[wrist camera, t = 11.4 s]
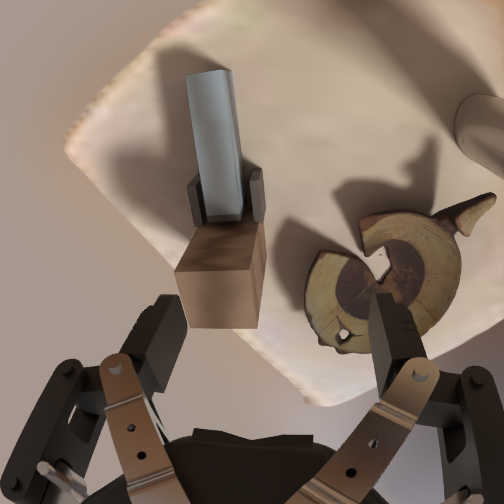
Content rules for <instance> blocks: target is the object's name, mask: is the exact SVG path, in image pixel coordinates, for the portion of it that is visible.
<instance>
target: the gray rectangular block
mask: <svg viewBox="0 0 504 504" xmlns="http://www.w3.org/2000/svg"><path fill="white" fill-rule="evenodd" d="M185 78H186V86H187V93H188V100H189V107H190V114H191V121H192V128H193V134H194V141H195V147H196V154H197V160H198V166H199V172H200V178H201V184H202V190H203V196H204V202H205V208H206V214H207V219H208V222H224V221H240V220H241V217H242V214H243V211H244V208H245V205H246V202H247V196H246V187H245V179H244V170H243V162H242V153H241V145H240V137H239V128H238V120H237V111H236V103H235V94H234V86H233V77H232V71H227V70H215V71H208V72H202V73H196V74H191V75H185Z"/></svg>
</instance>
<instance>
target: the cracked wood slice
mask: <svg viewBox="0 0 504 504" xmlns="http://www.w3.org/2000/svg"><path fill="white" fill-rule="evenodd" d="M496 198H497V197H496V195H495V194H494V193H492V192H489V193H485V194H482V195H479V196H477V197H475V198H472V199H470V200H467V201H464V202H461V203H458V204H456V205H453V206H451V207H448V208H445V209H443V210H440V211H438V212H437V213H435V214H434V215H433V216H428V215H425V214H423V213H420V212H417V211H413V210H404V209H397V210H387V211H382V212H377V213H374V214H371V215H369V216H367V217H364V218H362V219H361V220H360V221H359V229H360V234H361V235H360V236H361V241H362V244H363V245H362V248H363V253H364V256H365V257H369V256H371V255H372V254H373V253H374V252H375V251H377V250H378V249H379V248H381V247H382V246H386V247H387V251H388V256H389V260H390V261H391V264H392V268H391V270H390V271H389V272H388V273H387V275H386V276H385V278H384V279H383V281H382V282H381V283H380V284H378V283H377V281H376V280H375V278H374V275H373V274H372V272H371V271H370V269H369V267H368V266H367V265H366V264H365V263H364V262H363V261H362V260H361V259H358V258H356V257H354V256H349V255H347V254H344V253H339V252H333V251H328V250H320V251H319V253H318V254H317V256H316V258H315V259H314V261H313V263H312V265H311V267H310V270H309V273H308V276H307V279H306V285H305V291H304V307H305V313H306V316H307V319H308V321H309V323H310V326H311V328H312V329H313V330H314V331H315V333H316V334H317V336H318V342H319V345H321V346H330V347H334V348H335V349H336V352H337V353H339V354H349V353H359V354H370V353H372V352H371V347H370V341H369V336H368V319H369V313H370V306H371V299H372V294H373V293H374V292H391V293H392V295H393V298H394V301H395V304H404V305H405V306H406V307H407V308H408V309H409V310H410V311H411V312H412V315H413V318H414V321H415V323H416V326H417V331H418V332H419V334H420V337H422V336H423V335H424V334H426V333H427V332H428V331H429V329H430V328H431V327H433V326H434V325H436V323H437V322H438V321H439V320H440V319H441V318H442V317H443V315H444V314H445V312H446V311H447V310H448V308H449V306H450V305H451V303H452V301H453V299H454V297H455V295H456V291H457V289H458V286H459V281H460V275H461V256H460V251H459V248H458V246H457V243H456V241H455V238H454V235H455V233H456V232H457V231H459V232H460V233H461V234H462V235H464V236H466V237H468V236H470V234H471V231H472V229H473V228H474V225H475V224H476V222H477V221H478V220H479V218H480V217H481V216H482V215H484V213H485V212H486V211H487V210H489V209H490V208H491V207H492V206H493V205H494V204H495V201H496ZM380 255H381V254H379V256H380ZM342 329H345V330H347V331H348V332H349V335H348V336H347V337H346V338H345V339H341V336H340V335H339V333H340V331H341V330H342Z"/></svg>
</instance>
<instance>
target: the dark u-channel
mask: <svg viewBox="0 0 504 504" xmlns="http://www.w3.org/2000/svg"><path fill="white" fill-rule="evenodd" d="M187 189H188V195H189V200H190V205H191V210H192V215H193V220H194V225H195V227H198V229H197V231H196V232H195V234H194V236H193V238H192V240H191V241H190V243H189V245H188V247H187V249H186V251H185V252H184V254H183V256H182V258H181V260H180V262H179V263H178V265H177V267H176V269H175V271H174V274H175V278H176V282H177V285H178V289H179V292H180V296H181V299H182V303H183V306H184V309H185V313H186V316H187V319H188V322H189V326H190V328H215V329H219V328H220V329H257V326H258V319H259V311H260V304H261V296H262V289H263V281H264V273H265V266H266V258H267V253H266V243H265V233H264V223H263V221H264V216H265V210H266V203H265V193H264V183H263V173H262V169H254V170H253V173H252V175H251V178H250V190H251V198H252V207H253V208H247V209H244V211H243V214H242V217H241V220H240V221H224V222H208V219H207V214H206V208H205V202H204V196H203V190H202V184H201V178H200V174H198V175H196V177H195V178H194V179H193V180H192V181H191V182H190V183H189V185H188V186H187Z"/></svg>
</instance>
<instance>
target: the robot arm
mask: <svg viewBox="0 0 504 504" xmlns="http://www.w3.org/2000/svg"><path fill="white" fill-rule="evenodd" d="M455 135H456V139H457V142H458V145H459V147H460V148H461V150H462V152H463V153H464V154H465V155H466V156H467V157H468V158H470V159H471V160H473V161H475V162H476V163H478V164H480V165H481V166H483V167H484V168H486V169H488V170H489V171H491V172H492V173H494V174H495V175H497V176H499V177H500V178H502V179H503V180H504V99H502V98H498V97H493V96H488V95H483V94H475V95H473V96H470V97H468V98H467V99H466V100H465V101H464V102H463V103H462V104H461V105H460V107H459V109H458V111H457V115H456V118H455ZM186 334H187V321H186V318H185V314H184V311H183V308H182V304H181V301H180V298H179V296H178V295H171V294H167V295H166V294H161V295H160V296H159V297H158V299H157V301H156V302H155V304H154V306H149V307H147V309H145V310H144V311H143V312H142V313H141V314H140V316H139V318H138V319H137V323H135V325H134V326H133V330H131V332H130V333H129V335H128V337H127V339H126V341H125V342H124V344H123V346H122V348H121V350H120V351H119V353H115V354H112V355H110V356H108V357H106V358H105V359H104V360H103V361H102V363H101V364H100V366H93V367H83V365H82V364H81V362H80V361H79V360H77V359H68V360H65V361H63V362H62V363H60V364H59V365H58V366H57V368H56V369H55V371H54V372H53V374H52V376H51V378H50V380H49V381H48V383H47V385H46V387H45V389H44V390H43V392H42V394H41V396H40V398H39V399H38V401H37V403H36V405H35V407H34V409H33V411H32V413H31V415H30V417H29V419H28V421H27V423H26V425H25V427H24V429H23V431H22V433H21V435H20V437H19V439H18V441H17V443H16V445H15V447H14V450H13V452H12V454H11V456H10V458H9V460H8V463H7V465H6V467H5V470H4V472H3V474H2V477H1V480H0V488H1V491H2V493H3V495H4V496H5V497H6V498H7V499H9V500H10V501H12V502H14V503H15V504H389V503H388V502H387V501H386V500H385V499H384V498H383V497H382V496H381V495H380V494H379V493H378V492H377V491H376V490H375V489H374V488H373V487H374V486H375V484H376V483H377V482H378V480H379V479H380V477H381V476H382V475H383V473H384V472H385V470H386V469H387V468H388V466H389V465H390V463H391V462H392V460H393V459H394V457H395V456H396V454H397V453H398V451H399V450H400V448H401V447H402V445H403V443H404V442H405V440H406V438H407V437H408V435H409V434H410V432H411V430H412V429H413V427H414V425H415V424H420V425H426V426H432V427H437V432H438V438H439V446H440V453H441V462H442V471H443V481H444V495H445V501H444V502H442V503H441V504H504V410H503V407H502V403H501V400H500V397H499V394H498V391H497V388H496V385H495V382H494V379H493V376H492V375H491V373H490V372H489V371H488V370H486V369H485V368H483V367H480V366H470V367H468V368H466V369H465V370H464V371H463V372H462V374H454V373H447V372H443V371H440V370H439V369H438V367H437V365H436V364H435V363H434V362H433V361H431V360H429V359H428V358H427V355H426V352H425V349H424V346H423V343H422V340H421V337H420V334H419V332H418V331H417V326H416V323H415V321H414V318H413V315H412V312H411V311H410V310H409V309H408V308H407V307H406V306H405V305H404V304H395V301H394V298H393V295H392V293H391V292H374V293H373V294H372V299H371V306H370V313H369V319H368V336H369V341H370V347H371V352H372V357H373V363H374V369H375V375H376V381H377V387H378V393H379V399H381V400H380V402H379V403H375V404H374V405H373V406H372V407H371V409H370V410H369V411H368V413H367V414H366V415H365V417H364V418H363V419H362V421H361V422H360V423H359V424H358V426H357V427H356V428H355V430H354V431H353V432H352V434H351V435H350V436H349V437H348V438H347V440H346V441H345V442H344V443H343V444H342V446H341V447H340V448H339V449H338V450H337V451H335V450H334V449H332V448H330V447H327V446H325V445H322V444H319V443H314V442H313V435H279V436H274V437H268V438H262V439H256V440H249V439H245V438H242V437H239V436H235V435H233V434H229V433H226V432H223V431H217V430H207V429H198V428H194V430H193V434H192V436H186V437H182V438H178V439H176V440H173V441H172V440H171V438H170V436H169V434H168V433H167V431H166V428H165V426H164V424H163V422H162V419H161V417H160V415H159V413H158V410H157V408H156V406H155V404H154V401H153V399H152V396H153V393H154V392H159V393H164V391H165V389H166V386H167V383H168V381H169V378H170V376H171V373H172V371H173V368H174V365H175V363H176V360H177V358H178V355H179V353H180V350H181V347H182V345H183V342H184V340H185V337H186ZM74 406H76V410H75V412H74V414H73V416H72V419H71V420H70V423H69V425H68V419H69V417H70V414H71V412H72V410H73V408H74ZM106 419H107V422H108V426H109V429H110V433H111V436H112V440H113V443H114V446H115V449H116V452H117V455H118V458H119V461H120V464H121V467H122V470H123V473H124V474H122V475H121V476H119V477H118V478H116V479H115V480H113V481H112V482H110V483H109V484H107V485H106V486H104V487H103V488H101V489H100V490H98V491H97V492H95V493H93V494H92V495H90V496H88V493H87V486H86V482H85V481H84V477H85V474H86V471H87V468H88V466H89V463H90V460H91V457H92V454H93V452H94V449H95V446H96V444H97V441H98V438H99V436H100V433H101V430H102V428H103V425H104V423H105V420H106Z"/></svg>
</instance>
